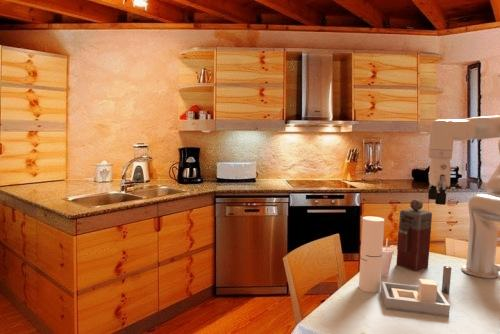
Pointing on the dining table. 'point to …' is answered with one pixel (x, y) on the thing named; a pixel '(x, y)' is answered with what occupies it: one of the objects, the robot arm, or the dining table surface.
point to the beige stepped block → (425, 292)
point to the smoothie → (386, 259)
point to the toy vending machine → (414, 237)
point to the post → (446, 279)
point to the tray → (413, 301)
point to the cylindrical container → (371, 253)
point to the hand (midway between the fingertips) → (436, 201)
